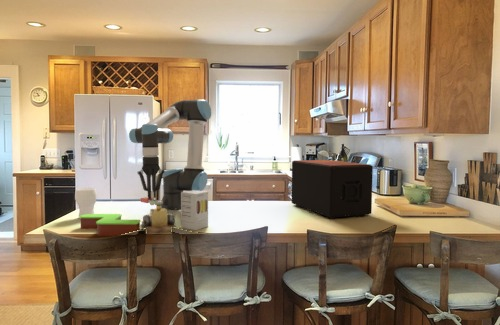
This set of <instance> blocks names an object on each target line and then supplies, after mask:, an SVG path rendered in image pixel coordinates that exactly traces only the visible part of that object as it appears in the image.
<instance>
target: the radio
mask: <svg viewBox="0 0 500 325" xmlns="http://www.w3.org/2000/svg"><path fill="white" fill-rule="evenodd" d="M373 168H374V167H373V165H371V164H370V163H369V164H368V163H359V162H349V161H341V160H332V159H331V160H330V159H317V160H316V159H313V160H312V159H311V160H309V159H308V160H307V159H306V160H293V161H291V204H293V205H295V206H296V207H301V208H304V209H306V210H308V211H311V212H315V213H317V214H319V215H323V216H324V217H328V219H331V220H335V219H336V218H344V217H354V216H355V217H356V216H359V217H366V216H367V215H368V216H369V215H372V208H373V206H372V204H373V199H372V198H373Z"/></svg>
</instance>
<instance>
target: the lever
mask: <svg viewBox="0 0 500 325" xmlns="http://www.w3.org/2000/svg"><path fill="white" fill-rule="evenodd" d="M140 203H144V204H150V203H153V204H154V206H156V205H162V204H163V201H162V199H158V200H157V199H154V200H153V199H152V198H148V196H147V197H145V196H144V197H141V198H140Z"/></svg>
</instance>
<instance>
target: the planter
mask: <svg viewBox="0 0 500 325" xmlns="http://www.w3.org/2000/svg"><path fill="white" fill-rule="evenodd" d="M122 217H123V216H122V214H120V213H94V214H84V215H82V216H80V219H79V220H80V229H81V230H93V229H94V230H96V235H97V236H100V237H103V236H104V237H107V236H109V237H113V236H115V235H121V234H125V233H129V232H133V231H137V230H140V231H141V224H140V223H141V219H122ZM115 237H116V236H115Z"/></svg>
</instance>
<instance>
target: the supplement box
mask: <svg viewBox="0 0 500 325" xmlns="http://www.w3.org/2000/svg"><path fill="white" fill-rule="evenodd" d="M180 227H181V228H182V229H188V230H190V231H191V230H192V231H198V230H200V229H204V228H208V227H209V192H208V191H206V190H205V191H204V190H202V191H197V190H193V191H183V192H181V209H180Z"/></svg>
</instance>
